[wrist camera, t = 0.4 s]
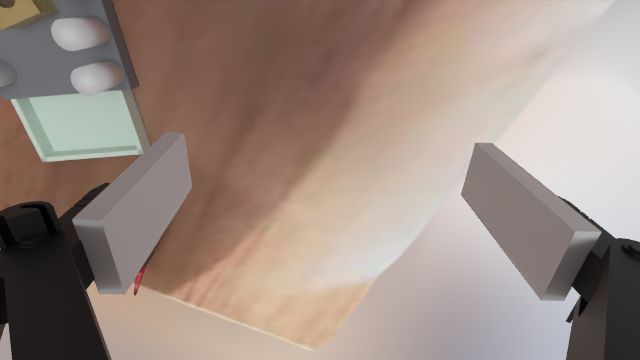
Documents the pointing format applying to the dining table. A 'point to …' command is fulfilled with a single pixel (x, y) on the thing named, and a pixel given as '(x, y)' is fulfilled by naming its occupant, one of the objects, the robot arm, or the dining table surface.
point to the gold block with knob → (24, 12)
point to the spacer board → (66, 53)
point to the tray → (83, 125)
